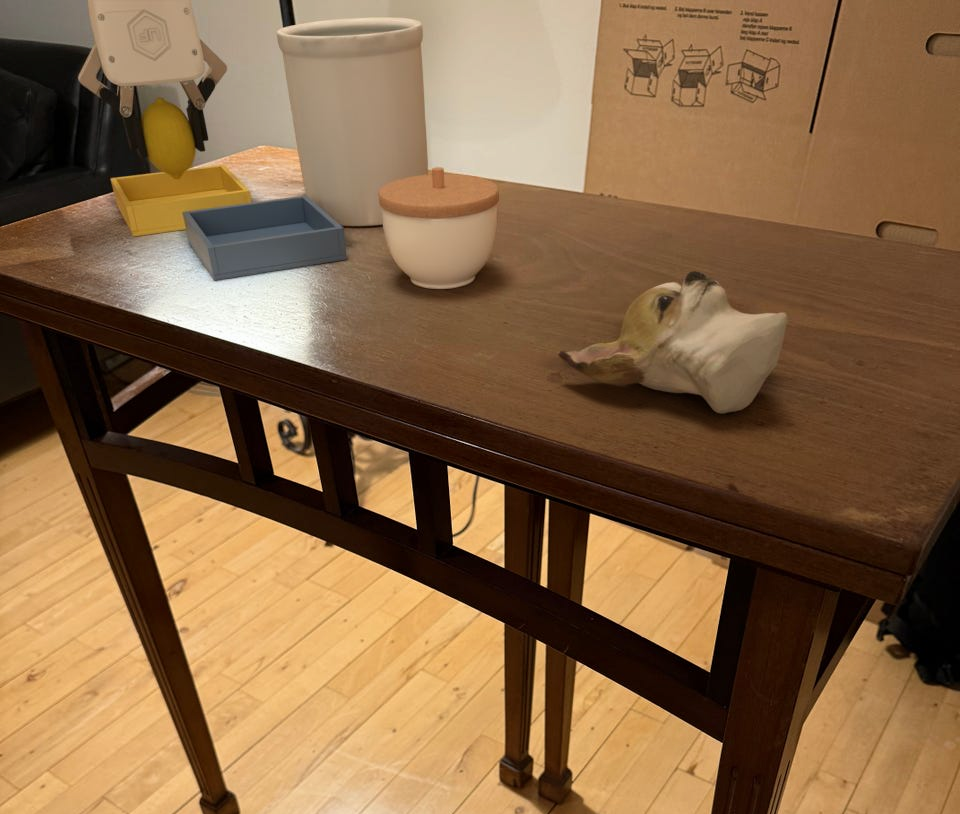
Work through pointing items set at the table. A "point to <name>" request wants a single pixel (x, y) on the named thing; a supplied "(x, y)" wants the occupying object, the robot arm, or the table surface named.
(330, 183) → the utensil holder
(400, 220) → the trinket box
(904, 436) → the table surface
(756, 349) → the ceramic sculpture
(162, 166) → the lemon
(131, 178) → the yellow tray
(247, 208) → the blue tray
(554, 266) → the table surface
